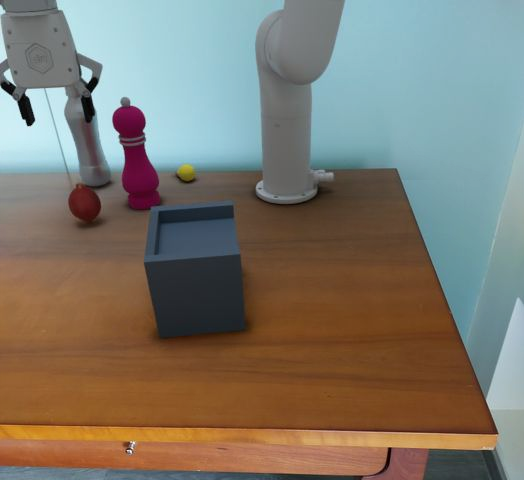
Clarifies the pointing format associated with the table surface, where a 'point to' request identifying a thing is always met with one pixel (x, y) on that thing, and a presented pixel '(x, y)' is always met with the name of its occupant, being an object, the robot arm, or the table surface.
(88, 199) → the onion
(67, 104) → the plastic bottle
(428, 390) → the table surface
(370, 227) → the table surface
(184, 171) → the yellow rounded piece
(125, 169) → the pepper mill
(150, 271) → the blue storage bin
